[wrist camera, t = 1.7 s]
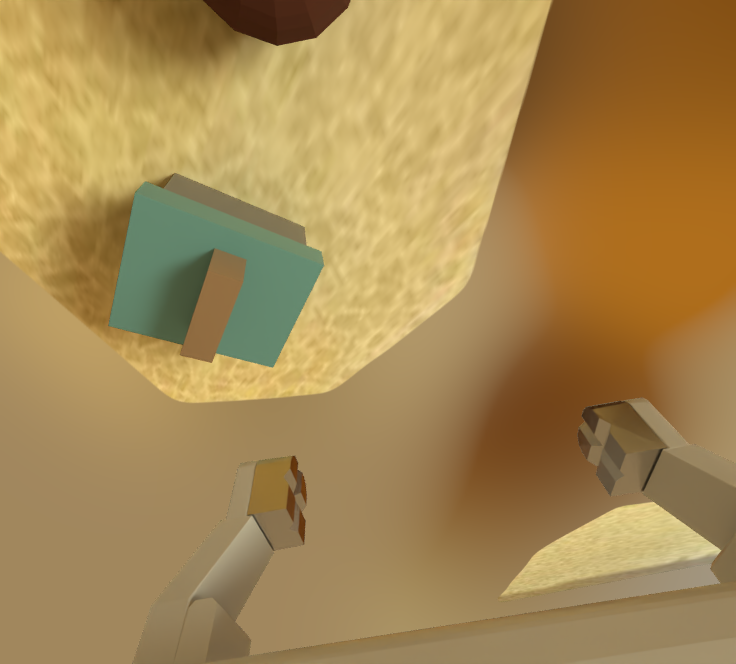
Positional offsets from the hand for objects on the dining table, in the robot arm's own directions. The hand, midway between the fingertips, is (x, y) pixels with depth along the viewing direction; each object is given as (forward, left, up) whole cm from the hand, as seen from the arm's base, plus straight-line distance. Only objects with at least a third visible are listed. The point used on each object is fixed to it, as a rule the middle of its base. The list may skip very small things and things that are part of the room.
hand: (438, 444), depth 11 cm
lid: (-6, -12, -25) cm, 28 cm away
